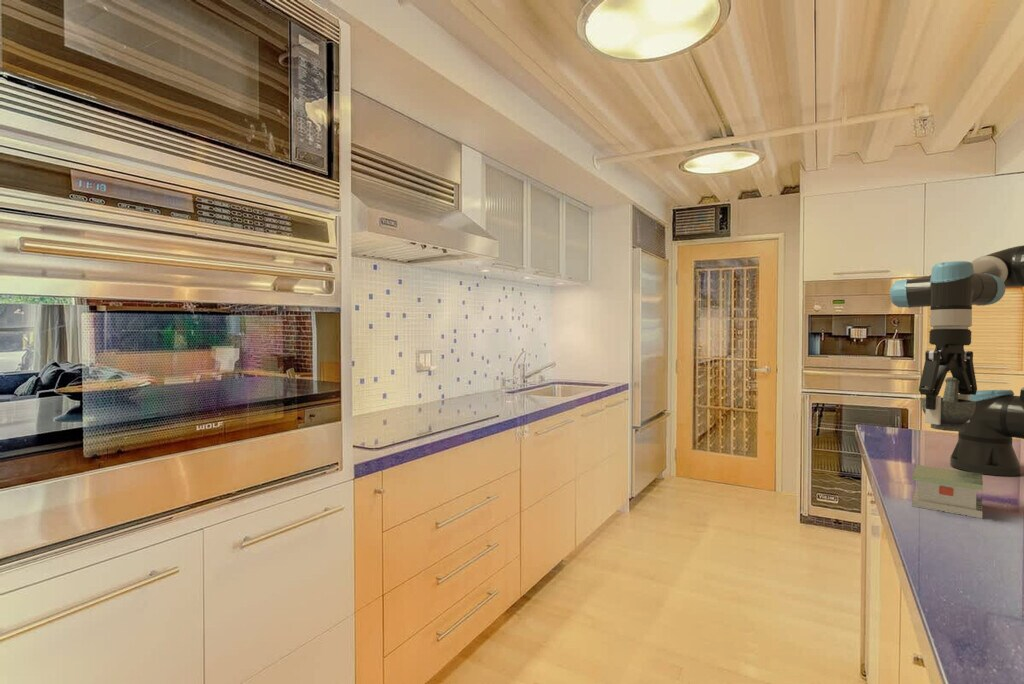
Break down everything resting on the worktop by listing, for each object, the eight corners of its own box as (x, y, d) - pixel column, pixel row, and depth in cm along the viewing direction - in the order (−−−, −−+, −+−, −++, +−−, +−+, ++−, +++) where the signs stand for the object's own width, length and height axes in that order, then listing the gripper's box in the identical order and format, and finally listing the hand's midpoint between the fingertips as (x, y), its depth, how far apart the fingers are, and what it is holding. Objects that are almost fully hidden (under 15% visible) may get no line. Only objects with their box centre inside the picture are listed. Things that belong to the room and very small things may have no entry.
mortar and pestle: (970, 434, 115) (971, 380, 115) (917, 428, 122) (918, 377, 122) (978, 428, 123) (979, 378, 122) (928, 423, 130) (929, 375, 130)
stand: (916, 493, 128) (916, 464, 128) (981, 504, 120) (982, 473, 120) (911, 506, 120) (912, 474, 119) (982, 518, 112) (982, 485, 111)
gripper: (961, 329, 130) (959, 418, 130) (901, 327, 121) (898, 422, 122) (998, 329, 123) (995, 423, 123) (937, 327, 114) (934, 427, 115)
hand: (947, 422), depth 122 cm, fingers closed on mortar and pestle, 10 cm apart
